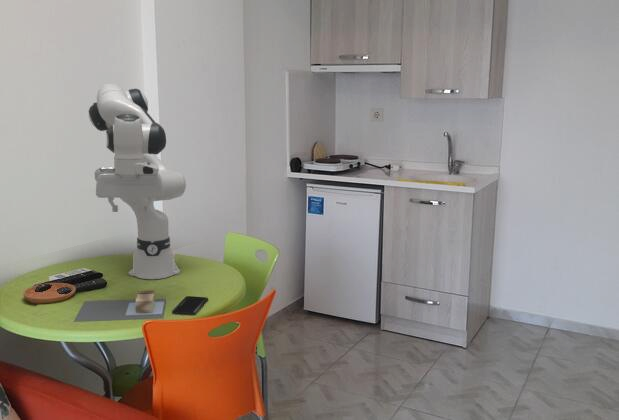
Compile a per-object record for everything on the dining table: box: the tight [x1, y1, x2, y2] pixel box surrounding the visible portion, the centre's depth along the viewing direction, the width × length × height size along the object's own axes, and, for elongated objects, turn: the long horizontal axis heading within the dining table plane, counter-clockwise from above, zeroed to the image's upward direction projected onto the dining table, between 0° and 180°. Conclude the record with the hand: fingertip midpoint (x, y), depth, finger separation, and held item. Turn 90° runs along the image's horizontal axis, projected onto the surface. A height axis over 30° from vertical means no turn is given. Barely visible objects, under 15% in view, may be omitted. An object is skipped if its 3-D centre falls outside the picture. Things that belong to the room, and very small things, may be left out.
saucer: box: [22, 282, 76, 305], centre depth 203 cm, size 16×16×3 cm
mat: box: [73, 297, 167, 323], centre depth 193 cm, size 18×26×1 cm
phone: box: [171, 295, 209, 317], centre depth 198 cm, size 8×1×15 cm
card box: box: [135, 290, 156, 314], centre depth 193 cm, size 5×9×4 cm, turn 10°
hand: (130, 211), depth 192 cm, fingers open, 8 cm apart
